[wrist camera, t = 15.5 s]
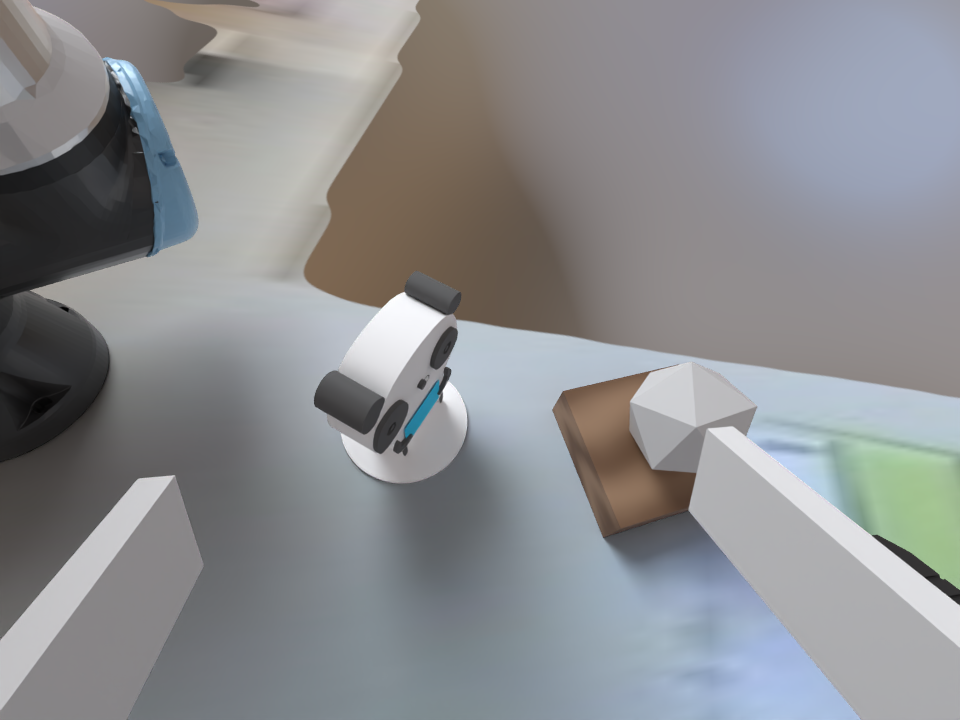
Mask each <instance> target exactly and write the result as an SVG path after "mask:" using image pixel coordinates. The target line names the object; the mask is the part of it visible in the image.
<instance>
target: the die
mask: <svg viewBox="0 0 960 720" xmlns="http://www.w3.org/2000/svg"><path fill="white" fill-rule="evenodd" d="M756 408H757V405H755V404H754V403H753V402H752V401H751V400H750V399H748V398H747V397H746V396H745V395H744V394H743V393H742V392H740V391H739V390H738V389H737V388H736V387H735V386H733V385H732V384H731V383H730V382H729V381H728V380H727V379H725V378H724V377H723V376H722V375H721V374H720V373H717V372H715V371H712V370H710V369H708V368H705V367H703V366H701V365H698V364H696V363H694V362H688V363H684V364H680V365H676V366H673V367H669V368H665V369H661V370H657V371H654V372H650V373H649V375H648V376H647V378H646V379H645V381H644V382H643V384H642V385H641V386H640V388H639V389H638V391H637V392H636V394H635V395H634V396H633V398H632V399H631V401H630V426H629V431H630V432H631V434H632V436H633V438H634V439H635V441H636V443H637V444H638V446H639V448H640V450H641V451H642V453H643V455H644V456H645V458H646V460H647V462H648V463H649V465H650V467H651V468H652V469H654V470H666V471H679V472H692V473H697V470H698V465H699V461H700V456H701V452H702V448H703V443H704V439H705V434H706V430H707V429H708V428H719V427H731V426H733V427H734V428H736V429H737V430H738V431H739V432H741V433H742V434H743V435H745V436H746V435H747V432H748V429H749V427H750V424H751V422H752V419H753V416H754V414H755V411H756Z"/></svg>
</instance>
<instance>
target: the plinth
mask: <svg viewBox="0 0 960 720" xmlns="http://www.w3.org/2000/svg"><path fill="white" fill-rule="evenodd" d="M675 366H676V365H675ZM670 367H673V366H670ZM666 368H669V367H666ZM662 369H665V368H662ZM657 370H661V369H657ZM657 370H653V371H649V372H644V373H640V374H636V375H631V376H627V377H623V378H618V379H614V380H609V381H605V382H601V383H596V384H592V385H588V386H583V387H579V388H575V389H570V390H566V391H563V392H562V394H561V396H560V397H559V399H558V401H557V403H556V404H555V406H554V408H553V413H554V415H555V418H556V420H557V423H558V425H559V428H560V430H561V433H562V435H563V438H564V440H565V443H566V445H567V448H568V450H569V453H570V455H571V458H572V460H573V463H574V465H575V468H576V470H577V473H578V475H579V478H580V480H581V483H582V485H583V488H584V490H585V493H586V495H587V498H588V500H589V503H590V506H591V508H592V511H593V513H594V516H595V518H596V521H597V523H598V526H599V528H600V531H601V533H602V536H603V538H604V537H607V536H610V535H613V534H616V533H619V532H623V531H626V530H629V529H632V528H635V527H638V526H642V525H645V524H648V523H651V522H654V521H657V520H660V519H664V518H667V517H670V516H673V515H676V514H679V513H682V512H686V511H689V510H688V509H689V505H690V500H691V496H692V492H693V487H694V483H695V478H696V474H697V473H692V472H679V471H666V470H654V469H652V468H651V467H650V465H649V463H648V462H647V460H646V458H645V456H644V455H643V453H642V451H641V450H640V448H639V446H638V444H637V443H636V441H635V439H634V438H633V436H632V434H631V432H630V431H629V426H630V401H631V399H632V398H633V396H634V395H635V394H636V392H637V391H638V389H639V388H640V386H641V385H642V384H643V382H644V381H645V379H646V378H647V376H648V375H649V373H650V372H654V371H657Z"/></svg>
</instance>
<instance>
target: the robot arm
mask: <svg viewBox="0 0 960 720" xmlns="http://www.w3.org/2000/svg"><path fill="white" fill-rule="evenodd" d="M197 228H198V214H197V210H196V207H195V203H194V200H193V197H192V194H191V191H190V189H189V186H188V183H187V180H186V178H185V175H184V173H183V170H182V168H181V165H180V163H179V161H178V159H177V158H176V157H175V151H174V149H173V146H172V144H171V141H170V138H169V135H168V133H167V130H166V128H165V126H164V123H163V121H162V119H161V116H160V114H159V112H158V109H157V107H156V105H155V103H154V101H153V98H152V96H151V94H150V92H149V90H148V88H147V86H146V84H145V82H144V80H143V78H142V76H141V75H140V73H139V71H138V70H137V68H136V67H135V66H133V65H132V64H131V63H130V62H127V61H124V60H114V59H111V58H108V57H106V58H104V59H102V58H101V57H100V55H99V54H98V52H97V50H96V49H95V48H94V47H93V46H92V44H91V43H90V42H89V41H88V40H87V39H86V37H85V36H83V34H82V33H81V32H80V31H78V30H77V29H76V28H74V27H73V26H72V25H70V24H69V23H67V22H65V21H64V20H62V19H61V18H59V17H57V16H55V15H53V14H51V13H49V12H46V11H44V10H42V9H39V8H36V7H34V6H32V5H31V4H30V2H29V1H28V0H0V462H1V461H4V460H8V459H11V458H13V457H16V456H19V455H21V454H24V453H26V452H28V451H30V450H33V449H35V448H37V447H39V446H40V445H42V444H44V443H46V442H47V441H49V440H51V439H52V438H54V437H55V436H57V435H58V434H60V433H61V432H62V431H64V430H65V429H66V428H67V427H69V426H70V425H71V424H72V423H73V422H74V421H76V420H77V419H78V418H79V417H80V416H81V415H82V414H83V412H84V411H85V410H86V409H87V408H88V407H89V406H90V404H91V403H92V402H93V400H94V399H95V397H96V396H97V394H98V393H99V391H100V389H101V387H102V385H103V383H104V380H105V377H106V374H107V370H108V364H109V354H108V348H107V345H106V342H105V340H104V338H103V336H102V335H101V333H100V332H99V331H98V330H97V329H96V328H95V327H94V326H93V325H92V324H91V323H90V322H88V321H87V320H86V319H85V318H84V317H83V316H82V315H81V314H79V313H78V312H76V311H75V310H73V309H72V308H70V307H68V306H66V305H64V304H61V303H59V302H56V301H53V300H50V299H46V298H44V297H42V296H40V295H38V294H36V293H34V292H32V291H29V290H32V289H35V288H39V287H42V286H46V285H49V284H53V283H56V282H59V281H63V280H66V279H70V278H73V277H77V276H80V275H84V274H87V273H91V272H94V271H97V270H101V269H104V268H108V267H111V266H115V265H118V264H122V263H125V262H129V261H132V260H136V259H139V258H142V257H150V256H154V255H155V254H157V253H158V252H159V251H160V250H162V249H165V248H168V247H170V246H173V245H176V244H179V243H182V242H184V241H187V240H189V239H190V238H191V237H192V236H193V235H194V234H195V233H196V231H197ZM688 510H689V512H690V513H691V514H692V515H693V517H694V518H695V519H696V520H697V521H698V523H699V524H700V525H701V526H702V527H703V529H704V530H705V531H706V532H707V533H708V535H709V536H710V537H711V538H712V540H713V541H714V542H715V543H716V544H717V546H718V547H719V548H720V549H721V550H722V552H723V553H724V554H725V555H726V556H727V558H728V559H729V560H730V561H731V562H732V564H733V565H734V566H735V567H736V569H737V570H738V571H739V572H740V573H741V575H742V576H743V577H744V578H745V579H746V581H747V582H748V583H749V584H750V585H751V587H752V588H753V589H754V590H755V592H756V593H757V594H758V595H759V596H760V598H761V599H762V600H763V601H764V602H765V604H766V605H767V606H768V607H769V608H770V610H771V611H772V612H773V613H774V615H775V616H776V617H777V618H778V619H779V621H780V622H781V623H782V624H783V625H784V627H785V628H786V629H787V630H788V631H789V633H790V634H791V635H792V636H793V637H794V639H795V640H796V641H797V642H798V644H799V645H800V646H801V647H802V648H803V650H804V651H805V652H806V653H807V654H808V656H809V657H810V658H811V659H812V660H813V662H814V663H815V664H816V665H817V667H818V668H819V669H820V670H821V671H822V673H823V674H824V675H825V676H826V677H827V679H828V680H829V681H830V682H831V683H832V685H833V686H834V687H835V688H836V690H837V691H838V692H839V693H840V694H841V696H842V697H843V698H844V699H845V700H846V702H847V703H848V704H849V705H850V706H851V708H852V709H853V710H854V711H855V713H856V714H857V715H858V716H859V717H860V719H861V720H960V590H959V589H957V588H956V587H955V586H954V585H952V584H951V583H950V582H948V581H947V580H946V579H944V580H942V579H941V578H940V576H939V574H938V573H936V572H935V571H934V570H933V569H931V568H930V567H929V566H927V565H926V564H925V563H923V562H922V561H921V560H919V559H918V558H917V557H916V556H914V555H913V554H912V553H910V552H908V551H907V550H905V549H903V548H901V547H899V546H897V545H895V544H893V543H892V542H890V541H888V540H886V539H884V538H882V537H880V536H878V535H872V536H871V535H870V534H869V533H867V532H866V531H865V530H863V529H862V528H861V527H860V526H858V525H857V524H856V523H855V522H853V521H852V520H851V519H850V518H848V517H847V516H846V515H844V514H843V513H842V512H841V511H839V510H838V509H837V508H836V507H834V506H833V505H832V504H831V503H829V502H828V501H827V500H826V499H824V498H823V497H822V496H820V495H819V494H818V493H817V492H815V491H814V490H813V489H812V488H810V487H809V486H808V485H807V484H805V483H804V482H803V481H801V480H800V479H799V478H798V477H796V476H795V475H794V474H793V473H791V472H790V471H789V470H788V469H786V468H785V467H784V466H782V465H781V464H780V463H779V462H777V461H776V460H775V459H774V458H772V457H771V456H770V455H769V454H767V453H766V452H765V451H764V450H762V449H761V448H760V447H758V446H757V445H756V444H755V443H753V442H752V441H751V440H750V439H748V438H747V437H746V436H745V435H743V434H742V433H741V432H739V431H738V430H737V429H736V428H734V427H733V426H731V427H719V428H708V429H707V430H706V434H705V439H704V443H703V448H702V452H701V456H700V461H699V465H698V470H697V474H696V478H695V483H694V487H693V492H692V496H691V500H690V505H689V509H688ZM203 567H204V564H203V561H202V558H201V555H200V552H199V548H198V545H197V542H196V539H195V536H194V533H193V530H192V527H191V523H190V520H189V517H188V514H187V511H186V508H185V505H184V502H183V498H182V495H181V492H180V489H179V486H178V483H177V480H176V477H175V475H173V476H162V477H150V478H139V479H137V480H136V482H135V483H134V484H133V485H132V486H131V488H130V489H129V490H128V491H127V492H126V493H125V495H124V496H123V497H122V498H121V499H120V500H119V502H118V503H117V504H116V505H115V506H114V507H113V509H112V510H111V511H110V512H109V513H108V515H107V516H106V517H105V518H104V519H103V520H102V522H101V523H100V524H99V525H98V526H97V527H96V529H95V530H94V531H93V532H92V533H91V534H90V536H89V537H88V538H87V539H86V540H85V542H84V543H83V544H82V545H81V546H80V547H79V549H78V550H77V551H76V552H75V553H74V554H73V556H72V557H71V558H70V559H69V560H68V561H67V563H66V564H65V565H64V566H63V567H62V569H61V570H60V571H59V572H58V573H57V574H56V576H55V577H54V578H53V579H52V580H51V581H50V583H49V584H48V585H47V586H46V587H45V588H44V590H43V591H42V592H41V593H40V594H39V595H38V597H37V598H36V599H35V600H34V601H33V603H32V604H31V605H30V606H29V607H28V608H27V610H26V611H25V612H24V613H23V614H22V615H21V617H20V618H19V619H18V620H17V621H16V622H15V624H14V625H13V626H12V627H11V628H10V630H9V631H8V632H7V633H6V634H5V635H4V637H3V638H2V639H1V640H0V720H127V718H128V716H129V714H130V712H131V710H132V708H133V706H134V704H135V702H136V700H137V698H138V696H139V694H140V692H141V690H142V688H143V686H144V684H145V682H146V680H147V678H148V676H149V674H150V672H151V670H152V668H153V666H154V664H155V662H156V660H157V658H158V656H159V654H160V652H161V650H162V648H163V646H164V644H165V642H166V640H167V638H168V636H169V634H170V632H171V630H172V628H173V626H174V625H175V623H176V621H177V619H178V617H179V615H180V613H181V611H182V609H183V607H184V605H185V603H186V601H187V599H188V597H189V595H190V593H191V591H192V589H193V587H194V585H195V583H196V581H197V579H198V577H199V575H200V573H201V571H202V569H203Z"/></svg>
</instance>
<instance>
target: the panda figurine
mask: <svg viewBox="0 0 960 720" xmlns="http://www.w3.org/2000/svg"><path fill="white" fill-rule="evenodd" d="M460 300H461V292H459V291H457V290H455V289H453V288H450V287H449V286H447V285H445V284H443V283H441V282H439V281H437V280H435V279H433V278H431V277H429V276H427V275H425V274H423V273H420V272H418V271H415V272H414V273H413V274H412V275H411V276H410V277H409V279H408V280H407V282H406V285H405V292H403V293H401V294H399V295H397V296H395V297H394V298H393V299H391V300H390V301H389V302H388V303H387V304H386V305H385V306H384V307H383V308H382V309H381V310H380V311H379V312H378V313H377V314H376V315H375V316H374V318H373V319H372V320H371V321H370V322H369V323H368V324H367V326H366V327H365V328H364V329H363V331H362V332H361V333H360V335H359V336H358V337H357V339H356V340H355V342H354V343H353V345H352V346H351V347H350V349H349V350H348V352H347V354H346V355H345V357H344V359H343V361H342V363H341V365H340V367H339V369H338V371H332V372H330V373H328V374H327V375H326V376H325V377H324V378H323V379H322V381H321V382H320V384H319V386H318V388H317V390H316V393H315V396H314V405H315V407H317V408H319V409H320V410H322V411H324V412H325V413H327V420H328V423H329V425H330V426H331V427H332V428H334V429H336V430H337V431H339V432H341V437H342V441H343V444H344V447H345V449H346V451H347V453H348V455H349V456H350V458H351V459H352V461H353V462H354V463H355V464H356V465H357V466H358V467H359V468H360V469H361V470H362V471H364V472H365V473H367V474H368V475H370V476H372V477H374V478H376V479H379V480H382V481H385V482H390V483H413V482H418V481H421V480H425V479H427V478H429V477H432V476H434V475H435V474H437V473H439V472H440V471H442V470H443V469H444V468H445V467H447V466H448V465H449V464H450V463H451V462H452V461H453V459H454V458H455V457H456V456H457V454H458V452H459V451H460V449H461V447H462V445H463V442H464V439H465V436H466V431H467V412H466V408H465V405H464V402H463V400H462V398H461V396H460V394H459V392H458V391H457V390H456V388H455V387H454V386H453V385H452V384H451V383H450V382H449V381H448V380H449V377H450V375H451V369H449V368H448V367H445V366H446V364H447V362H448V359H449V357H450V354H451V352H452V349H453V347H454V345H455V342H456V340H457V335H458V331H457V322H456V318H455V316H454V315H453V313H454V312H455V310H456V309H457V307H458V305H459V303H460ZM443 373H444V377H443Z"/></svg>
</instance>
